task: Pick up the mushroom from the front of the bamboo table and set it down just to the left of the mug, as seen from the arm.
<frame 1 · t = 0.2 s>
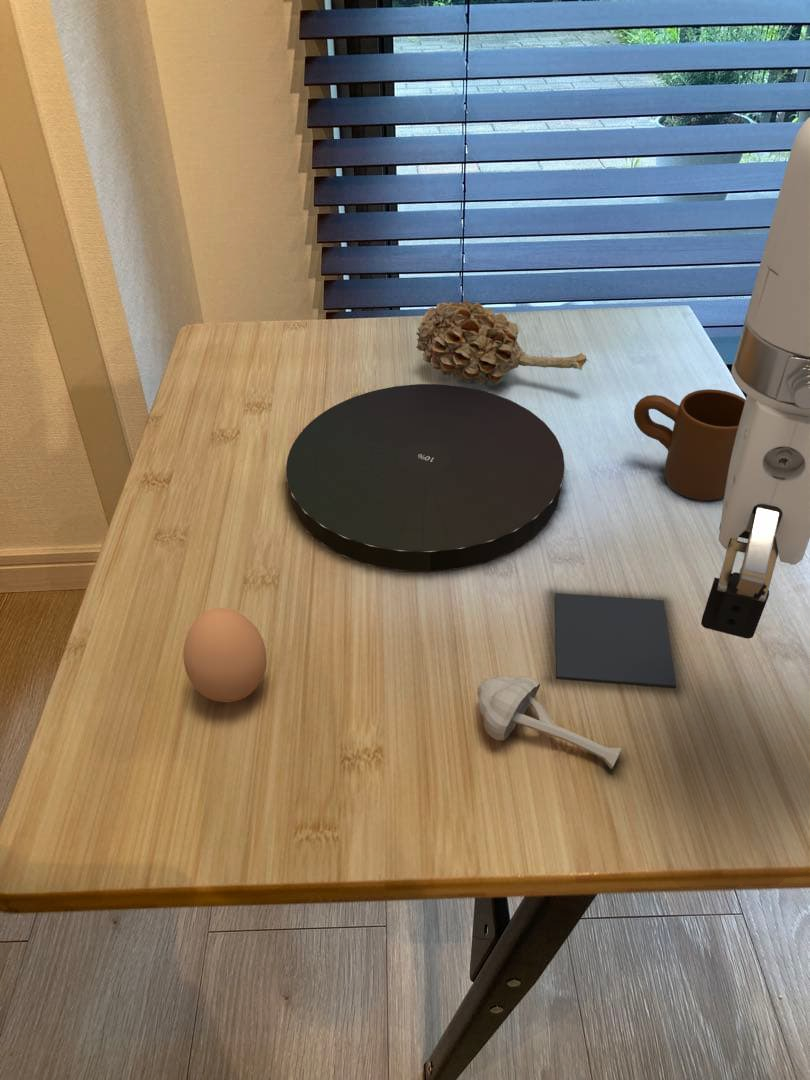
hand: (734, 579, 57), 17 cm above the table, tool pointing down, fingers open, 9 cm apart
egg: (234, 690, 72), on the table
mug: (677, 477, 93), on the table
mushroom: (544, 735, 68), on the table
coaster: (612, 638, 75), on the table
pine cone: (500, 383, 108), on the table
disc: (424, 480, 93), on the table
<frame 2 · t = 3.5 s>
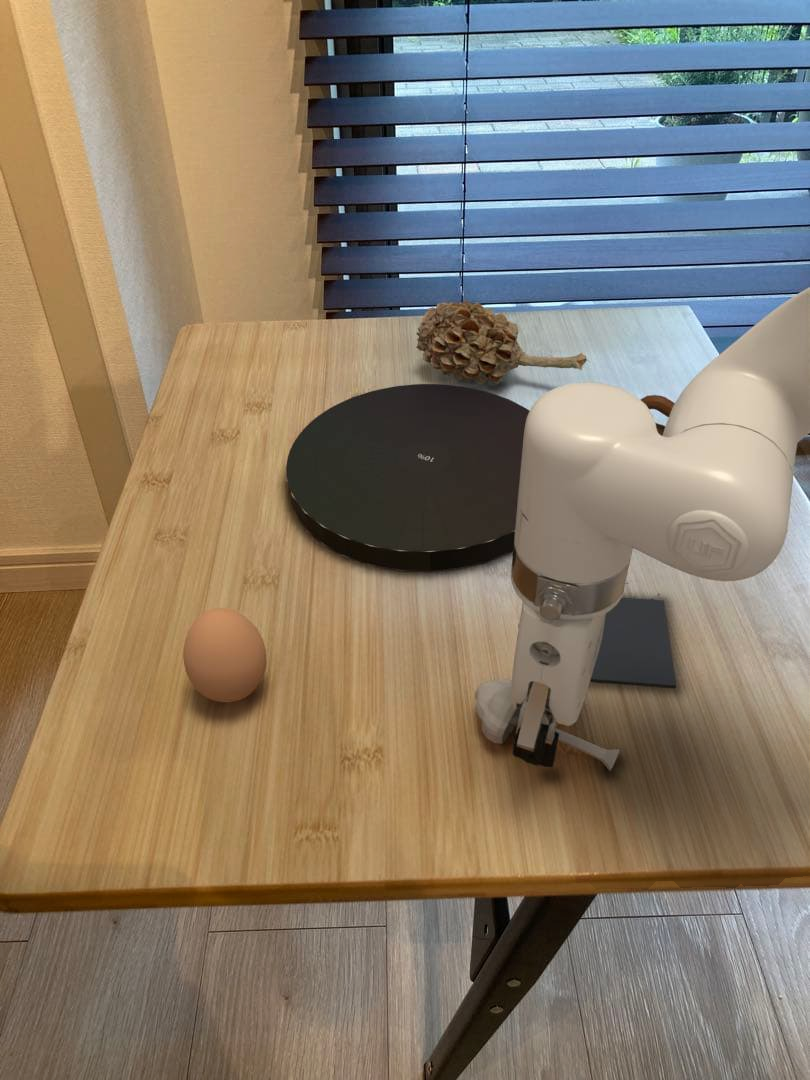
hand: (544, 724, 68), 1 cm above the table, tool pointing down, fingers closed on mushroom, 6 cm apart
mushroom: (542, 738, 68), on the table, touching gripper
everything else where it was.
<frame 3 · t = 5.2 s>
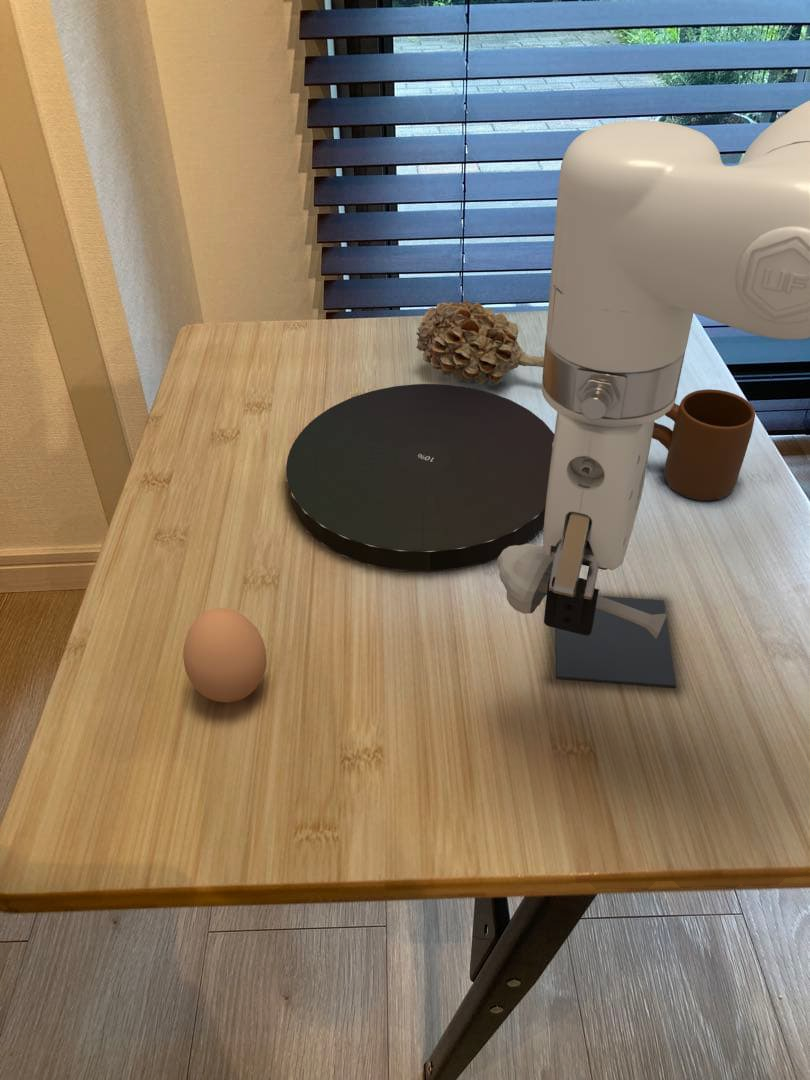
hand: (578, 592, 59), 15 cm above the table, tool pointing down, fingers closed on mushroom, 5 cm apart
mushroom: (576, 609, 60), point 14 cm above the table, touching gripper
everything else where it was.
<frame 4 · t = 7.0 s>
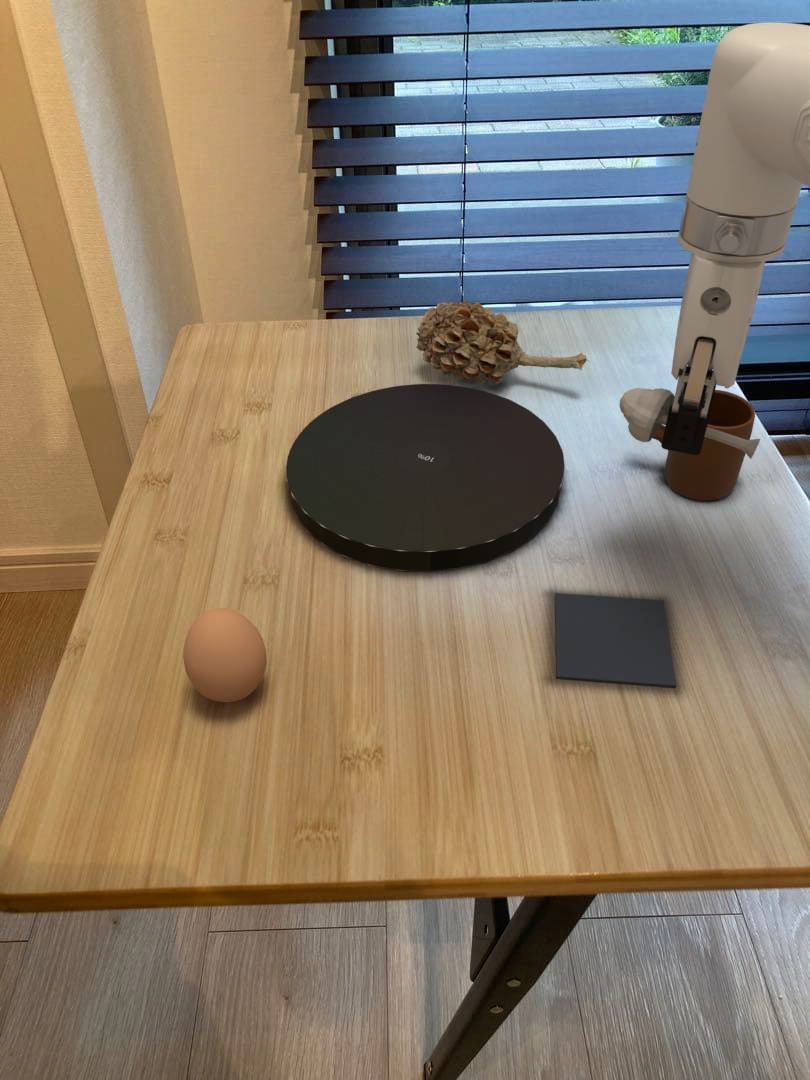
hand: (686, 427, 73), 15 cm above the table, tool pointing down, fingers closed on mushroom, 5 cm apart
mushroom: (683, 441, 74), point 14 cm above the table, touching gripper
everything else where it was.
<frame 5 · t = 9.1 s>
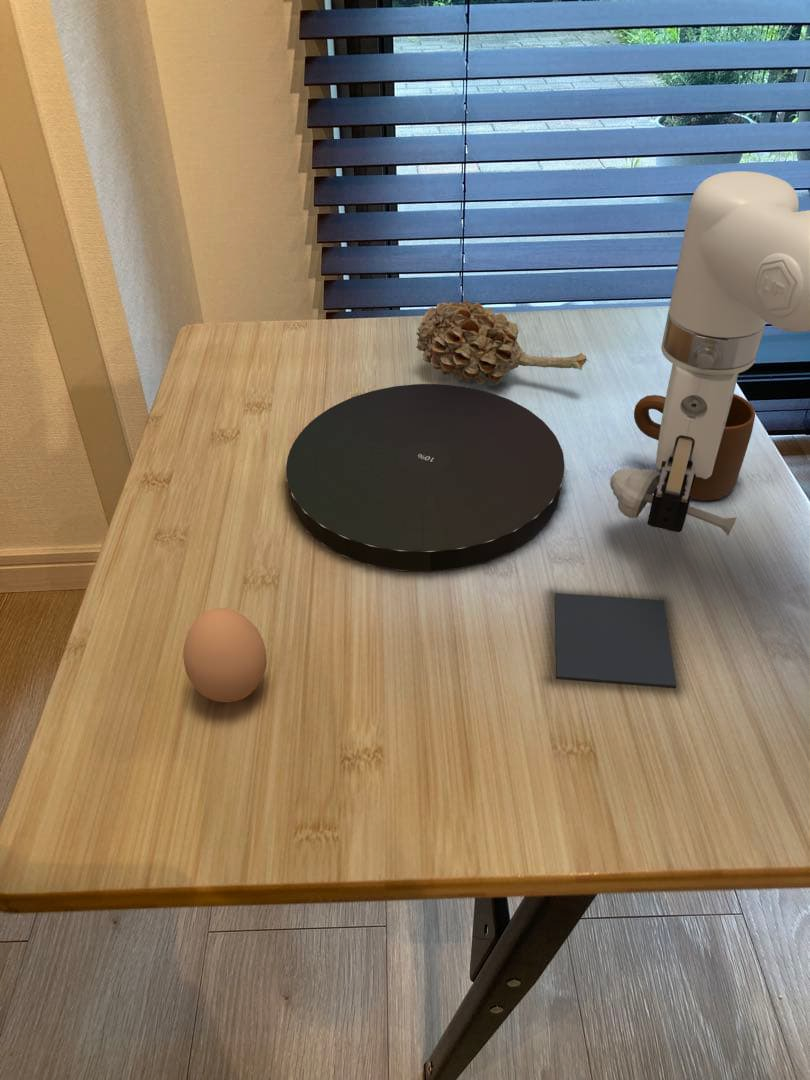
hand: (670, 504, 81), 5 cm above the table, tool pointing down, fingers closed on mushroom, 5 cm apart
mushroom: (667, 516, 81), point 4 cm above the table, touching gripper
everything else where it was.
when the fingers open (1 cm above the table, at t = 10.6 s): mushroom stays where it is, on the table.
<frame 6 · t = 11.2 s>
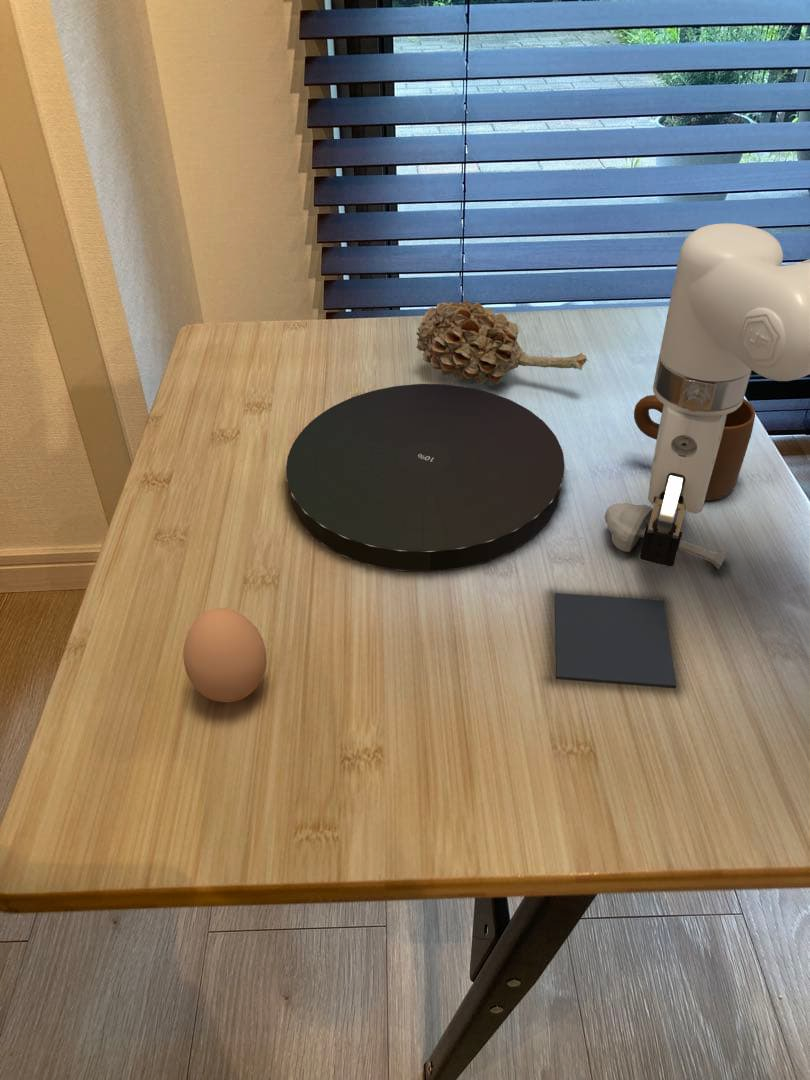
hand: (664, 529, 83), 2 cm above the table, tool pointing down, fingers open, 9 cm apart
mushroom: (660, 550, 84), on the table
everything else where it was.
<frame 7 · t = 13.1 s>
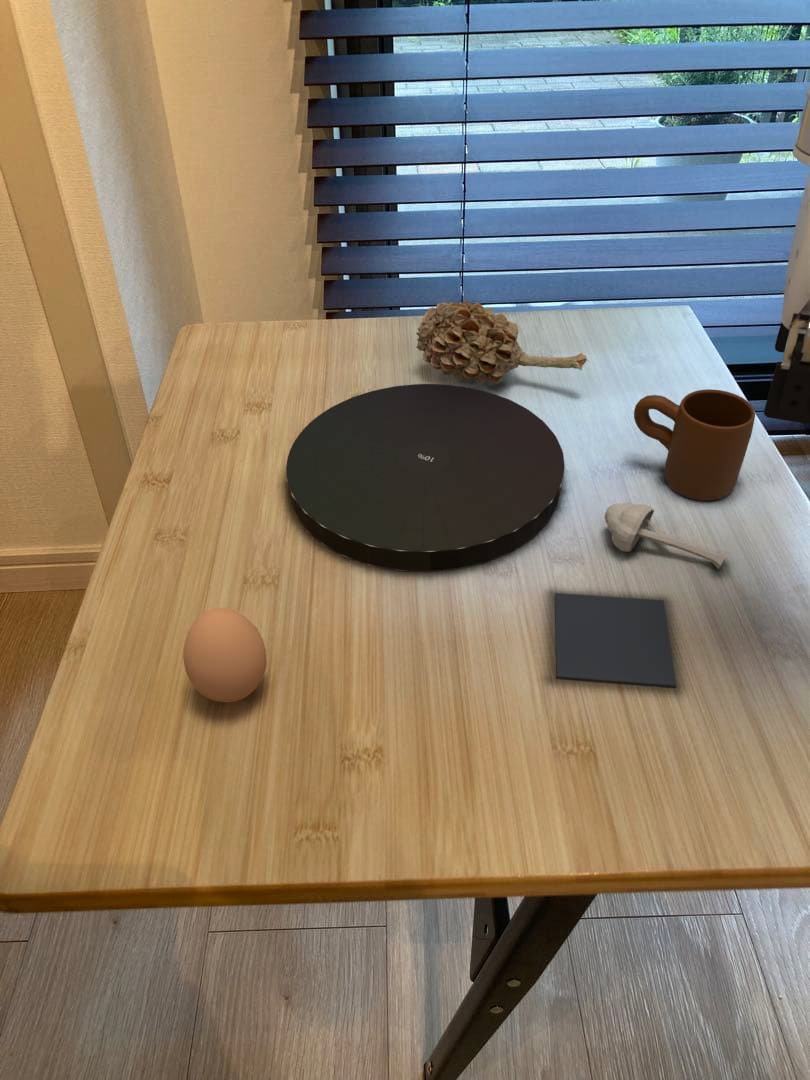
hand: (792, 383, 61), 24 cm above the table, tool pointing down, fingers open, 9 cm apart
nothing on the table moved.
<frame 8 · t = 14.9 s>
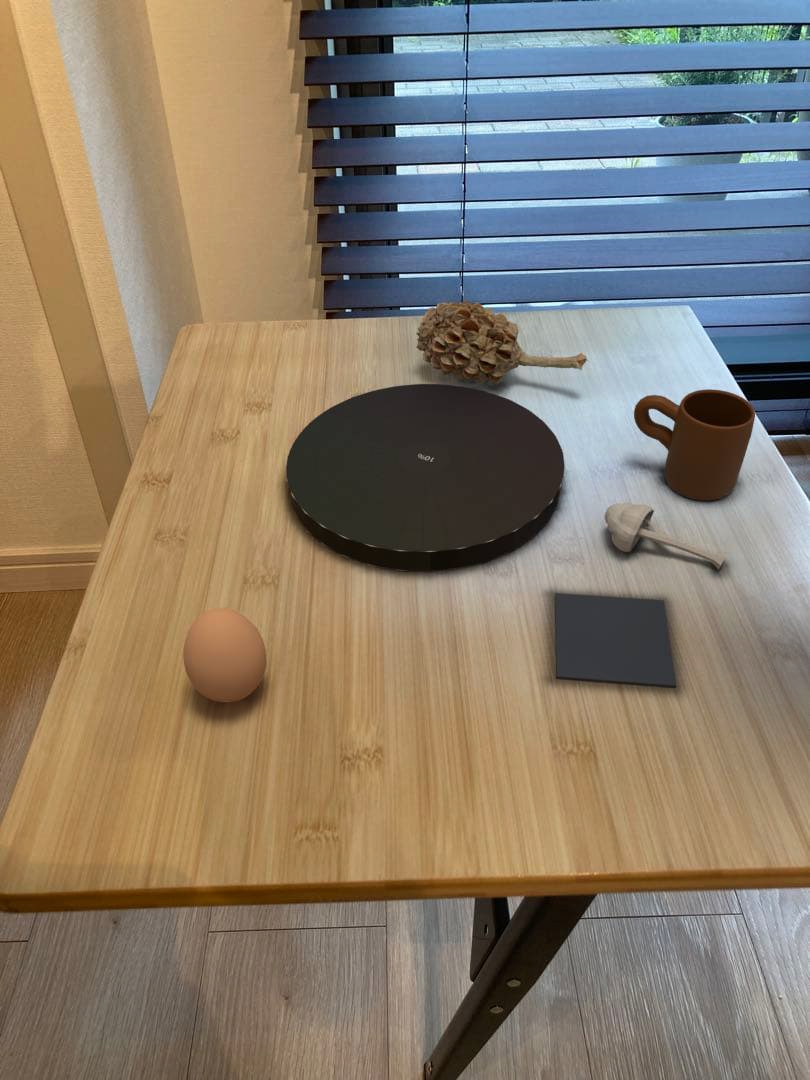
nothing on the table moved.
at the end: mushroom inside the target area on the table beside the mug (0.8 cm from its centre), on the table; the gripper is holding nothing; mug moved 0.2 cm from its start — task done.
